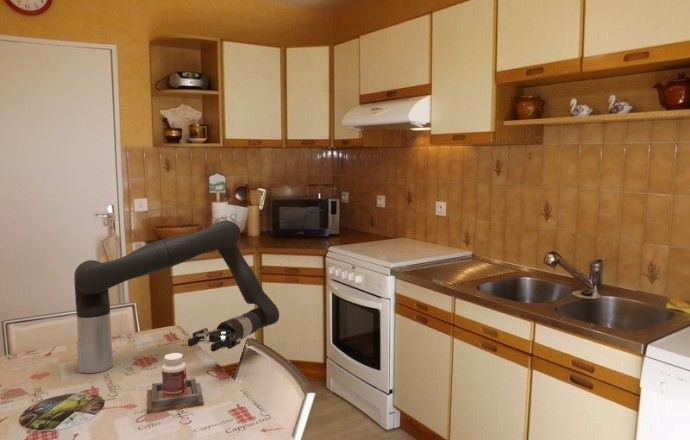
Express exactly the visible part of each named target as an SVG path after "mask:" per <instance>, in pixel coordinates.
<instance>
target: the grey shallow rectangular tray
mask: <svg viewBox="0 0 690 440" xmlns="http://www.w3.org/2000/svg"><path fill="white" fill-rule="evenodd" d="M186 385H187V393H186V395H183V396H176V397H169V398H164V397H163V387H162V382H154V383H151V389H147V390H146V392H147V393H146V415H147V414H154V413H155V414H156V413H161V412H167V411H173V410H180V409H186V408H187V409H188V408H193V407H200V406H204V405H205V404H204V403H205V401H204V397H203V392H202V387H201V383H200V382H198V383H197V381H196V377H194V378H186Z"/></svg>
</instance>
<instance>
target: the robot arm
mask: <svg viewBox="0 0 690 440" xmlns="http://www.w3.org/2000/svg"><path fill="white" fill-rule="evenodd" d="M240 238H241V228H240V226H239V225H238V224H237V223H235V222H234V221H231V220H227V219H225V220H220V221H217V222H215V223H214V224H213V225H210V226H208V227H206V228H204V229H200V230H198V231H194V232H191V233H185V234H179V235H176V236H171V237H167V238H164V239H160V240H156V241H153V242H150V243H148V244H145V245H143V246H141V247H139V248H137V249H135V250H133V251H132V252H130V253H128V254H126V255H124V256H122V257H119V258H116V259H112V260H109V261H108V260H107V261H105V262H100V261H98V260H94V259H91V260H86V261H83V262H81V263H80V264H79V265H78V266H77V267H76V269H75V271H74V274H73V275H74V278H73V280H74V295H75V297H74V298H75V311H76V326H77V327H76V328H77V329H76V330H77V342H76V348H77V349H76V350H77V353H76V354H77V366H78V367H77V368H78V369H77V370H78V374H96V373H97V374H98V373H101V372H104V371H108V370H110V369H111V368H112V367H113V344H112V342H113V341H112V326H111V325H112V324H111V322H112V321H111V304H110V303H111V302H110V294H109V289H110V288H113V287H116V286H117V285H119V284H122V283H124V282H126V281H129V280H132V279H135V278H141V277H143V276H147V275H150V274H154V273H157V272H160V271H163V270H166V269H169V268H171V267H172V268H173V267H175V266H178V265H179V264H182V263H185V262H187V261H189V260H191V259H194V258H196V257H198V256H201V255H203V254H205V253H209V252H213V251H217V252H218V254H220V256H221V257H222V259H223V260H224V262H225V264H226V266H227V267H228V269H229V271H230V273H231V274H232V277H233V279H234V282H235V283H236V285H237V288H238V290H239V292H240V293H241V296H242V297H243V299H244V301H245V303H246V304H248V305H256V306H257V307H256V308H253V309H251V310H249V311H247V312H245V313H243V314H241V315H237V316H234V317H231V318H229V319H227V320H225V321H224V320H223V322H220V323H219V324H218V326H217V327H216V328H214V329H211V330H208V328H207V327H205V328H202V329H200V330H197V331H195V332H194V331H193V333H192V337H191V338H188V339H187V346H188V347H190V348H191V347H193V346H196V345H198V344H202V343H204V344H211V345H210V352H213V353H214V352H216V351H218V350H220V349H225V348H227V350H230V349H233V348H234V347H236V346H238V345H240V344H241V340H244V339H245V338H247V337H248V336H250V335H252V334H254V333H256V332H257V331H258V330H259V329H261V328H264V327H268V326H272V325H275V324H276V323H277V322H279V319H280V311H279V308H278V307H277V305H276V304H275V302H273V301H272V299H271V298H270V297H269V296H268V294H267V293H265V291H264V289H263V287H262V286H261V283H260V281H259V279H258V277H257V275H256V274H255V272H254V271H253V269H252V267H251V266H250V265H249V264H248V262H247V261H246V260H245V259H246V258H244V256H243V254H242V252H241V249H240V248H239V245H238V242H239V240H240ZM207 338H208V340H207Z"/></svg>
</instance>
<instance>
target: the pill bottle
mask: <svg viewBox="0 0 690 440" xmlns="http://www.w3.org/2000/svg"><path fill="white" fill-rule="evenodd" d="M183 360H184V356H183V354H182V353H181V352H180V353H179V352H173V353H172V352H171V353H168V354H166V355H164V359H163V361H164V364H163V365H162V366H161V379H162V387H163V397H164V398H169V397H176V396H183V395H186V393H187V385H186V379H187V365H186V364H187V363H185V362H184V361H183Z"/></svg>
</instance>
